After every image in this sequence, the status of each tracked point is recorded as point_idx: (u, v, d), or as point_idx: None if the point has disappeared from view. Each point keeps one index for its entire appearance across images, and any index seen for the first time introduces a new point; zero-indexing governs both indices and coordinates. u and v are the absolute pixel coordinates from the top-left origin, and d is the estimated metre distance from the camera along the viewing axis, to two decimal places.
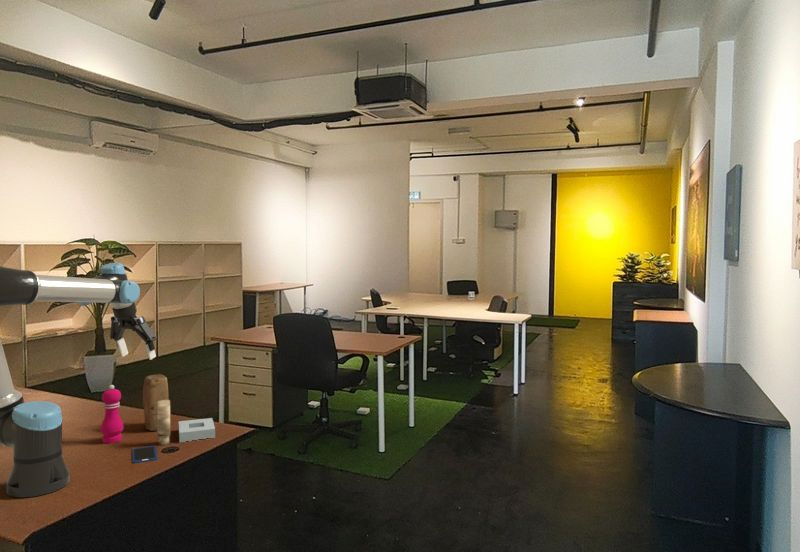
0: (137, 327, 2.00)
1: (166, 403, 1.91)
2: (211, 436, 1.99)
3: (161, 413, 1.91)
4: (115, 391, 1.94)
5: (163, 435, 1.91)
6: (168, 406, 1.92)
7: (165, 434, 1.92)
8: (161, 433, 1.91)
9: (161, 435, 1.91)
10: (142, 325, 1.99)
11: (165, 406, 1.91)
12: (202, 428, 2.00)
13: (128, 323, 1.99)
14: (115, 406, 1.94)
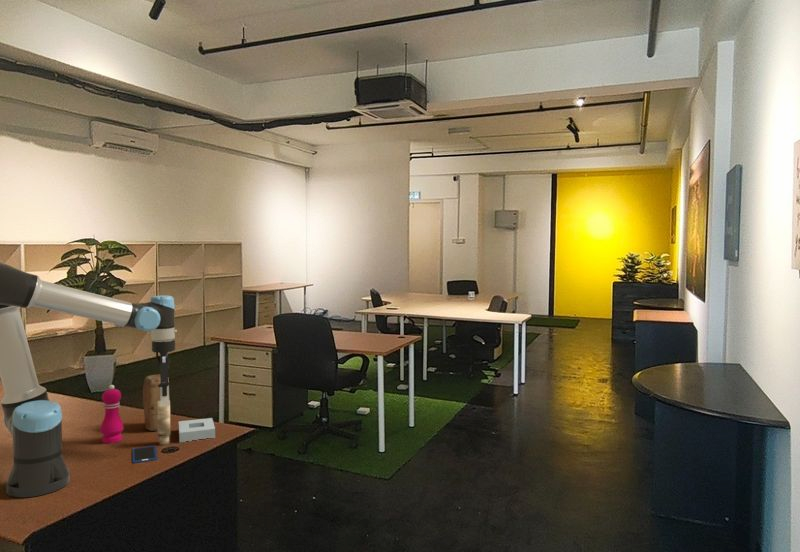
0: None
1: None
2: (211, 436, 1.99)
3: (161, 413, 1.91)
4: (115, 391, 1.94)
5: (163, 435, 1.91)
6: (168, 406, 1.92)
7: (165, 434, 1.92)
8: (161, 433, 1.91)
9: (161, 435, 1.91)
10: (161, 365, 1.85)
11: (165, 406, 1.91)
12: (202, 428, 2.00)
13: None
14: (115, 406, 1.94)
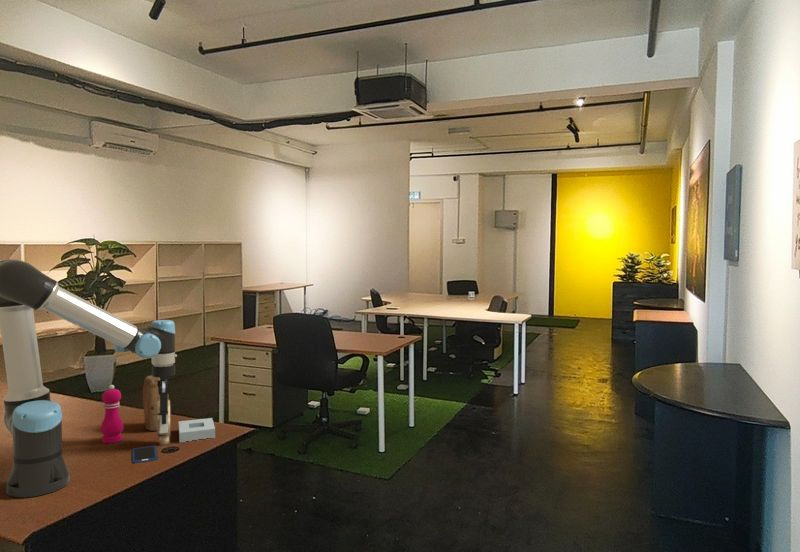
0: None
1: None
2: (211, 436, 1.99)
3: None
4: (115, 391, 1.94)
5: (163, 435, 1.91)
6: (168, 406, 1.92)
7: (165, 434, 1.92)
8: (161, 433, 1.91)
9: (161, 435, 1.91)
10: (161, 395, 1.87)
11: None
12: (202, 428, 2.00)
13: None
14: (115, 406, 1.94)
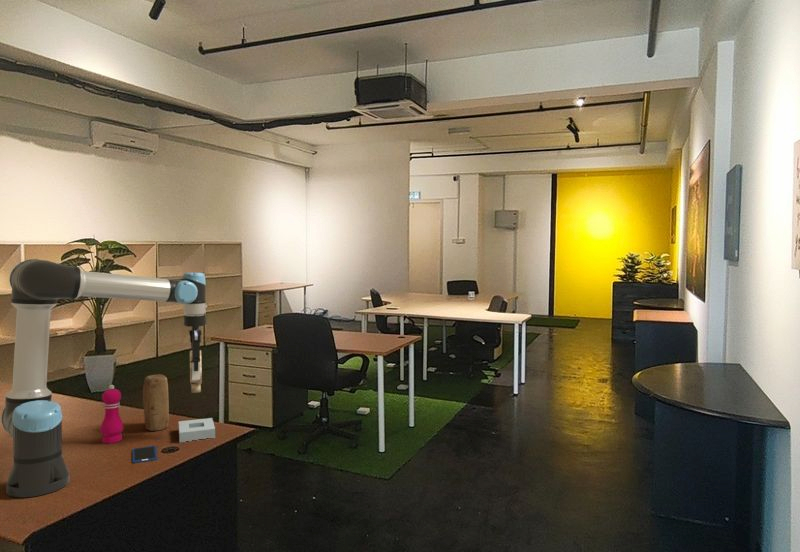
0: None
1: None
2: (211, 436, 1.99)
3: None
4: (115, 391, 1.94)
5: (195, 383, 2.00)
6: (200, 355, 2.01)
7: (197, 382, 2.00)
8: (193, 381, 2.00)
9: (193, 383, 2.00)
10: (194, 342, 1.96)
11: None
12: (202, 428, 2.00)
13: (189, 334, 1.99)
14: (115, 406, 1.94)
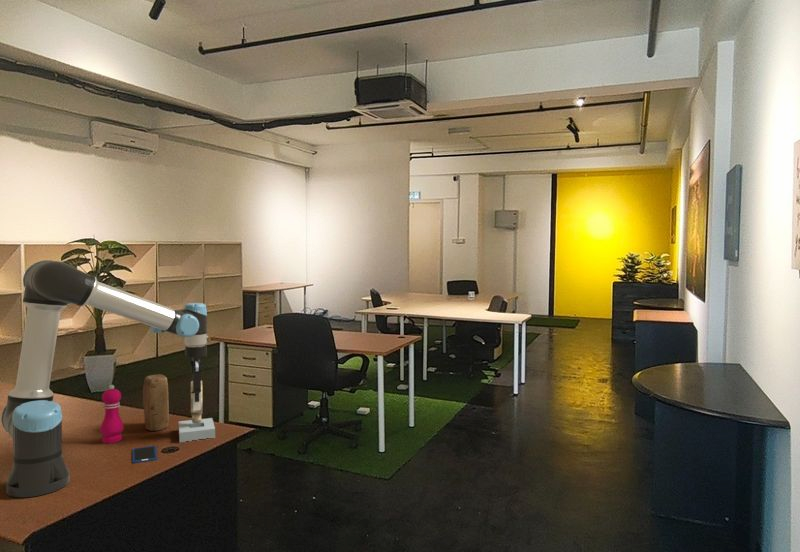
0: None
1: None
2: (211, 436, 1.99)
3: None
4: (115, 391, 1.94)
5: (196, 413, 2.01)
6: (201, 386, 2.02)
7: (198, 412, 2.01)
8: (194, 412, 2.01)
9: (194, 413, 2.01)
10: (195, 374, 1.96)
11: None
12: (202, 428, 2.00)
13: None
14: (115, 406, 1.94)
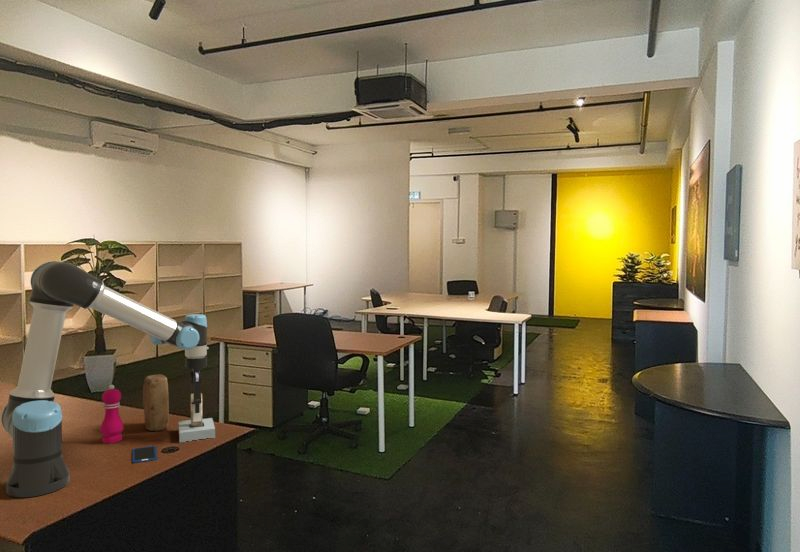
0: None
1: None
2: (211, 436, 1.99)
3: None
4: (115, 391, 1.94)
5: (196, 426, 2.01)
6: (201, 398, 2.02)
7: (198, 425, 2.01)
8: (194, 424, 2.01)
9: (194, 426, 2.01)
10: (195, 384, 1.96)
11: None
12: (202, 428, 2.00)
13: (191, 376, 2.00)
14: (115, 406, 1.94)
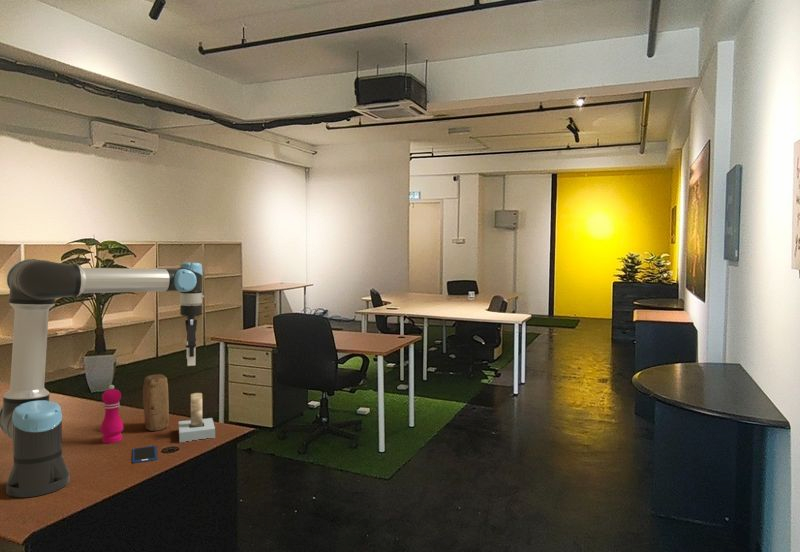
0: None
1: (199, 396, 2.01)
2: (211, 436, 1.99)
3: (194, 405, 2.01)
4: (115, 391, 1.94)
5: (196, 426, 2.01)
6: (201, 398, 2.02)
7: (198, 425, 2.01)
8: (194, 424, 2.01)
9: (194, 426, 2.01)
10: (189, 327, 1.95)
11: (197, 399, 2.01)
12: (202, 428, 2.00)
13: (185, 322, 2.00)
14: (115, 406, 1.94)
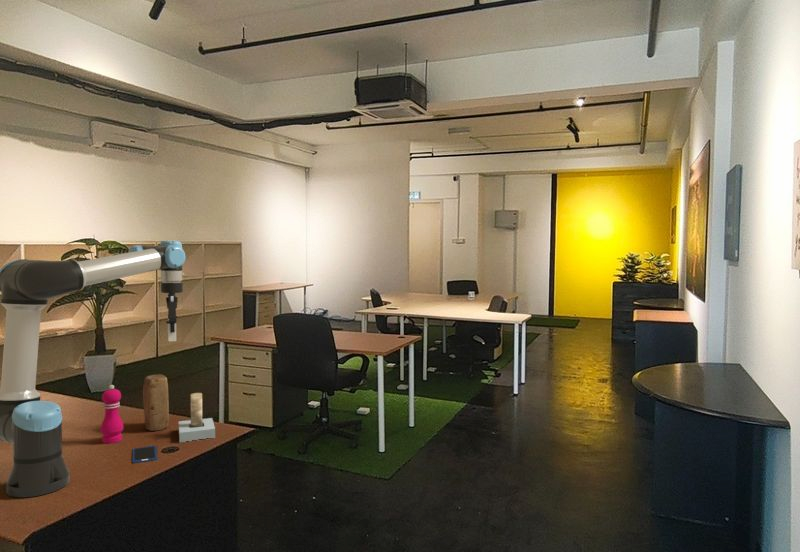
0: None
1: (199, 396, 2.01)
2: (211, 436, 1.99)
3: (194, 405, 2.01)
4: (115, 391, 1.94)
5: (196, 426, 2.01)
6: (201, 398, 2.02)
7: (198, 425, 2.01)
8: (194, 424, 2.01)
9: (194, 426, 2.01)
10: (170, 303, 1.99)
11: (197, 399, 2.01)
12: (202, 428, 2.00)
13: (166, 299, 2.03)
14: (115, 406, 1.94)
